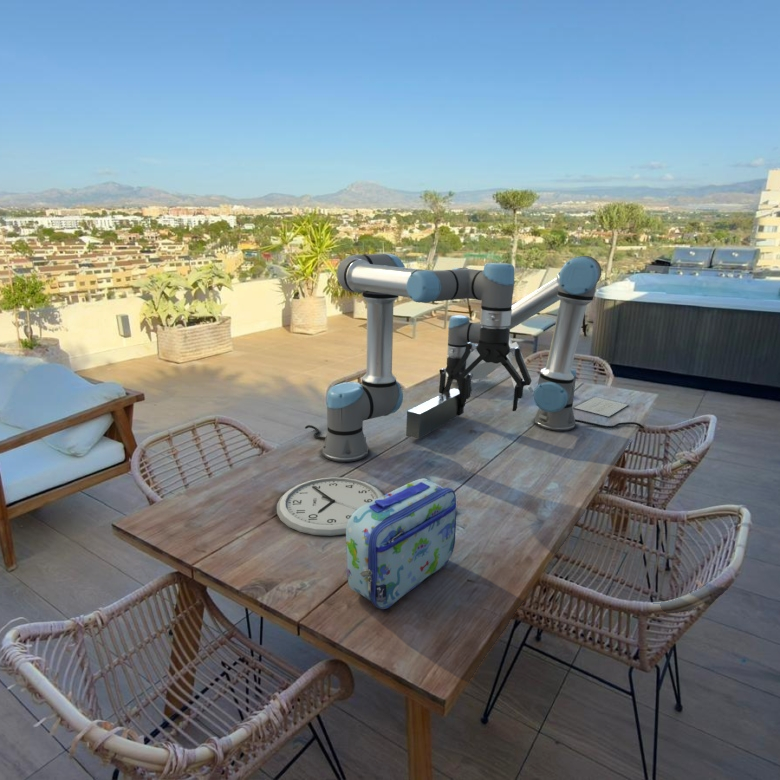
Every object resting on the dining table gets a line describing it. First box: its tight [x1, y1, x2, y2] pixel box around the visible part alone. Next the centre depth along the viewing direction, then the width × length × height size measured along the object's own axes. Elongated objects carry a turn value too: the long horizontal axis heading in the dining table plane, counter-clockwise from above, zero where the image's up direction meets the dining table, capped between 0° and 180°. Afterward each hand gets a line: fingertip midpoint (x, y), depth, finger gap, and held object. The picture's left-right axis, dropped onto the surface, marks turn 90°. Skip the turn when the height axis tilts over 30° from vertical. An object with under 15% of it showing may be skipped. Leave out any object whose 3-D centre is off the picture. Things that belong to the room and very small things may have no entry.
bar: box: [405, 388, 465, 440], centre depth 197 cm, size 34×5×9 cm, turn 145°
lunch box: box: [345, 477, 457, 610], centre depth 110 cm, size 26×11×21 cm, turn 134°
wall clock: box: [276, 476, 385, 537], centre depth 142 cm, size 30×2×30 cm
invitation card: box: [573, 396, 629, 418], centre depth 226 cm, size 21×1×15 cm
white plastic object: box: [444, 334, 535, 394], centre depth 249 cm, size 37×45×31 cm
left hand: (488, 406), depth 138 cm, fingers open, 13 cm apart
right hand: (453, 412), depth 209 cm, fingers closed on bar, 5 cm apart
